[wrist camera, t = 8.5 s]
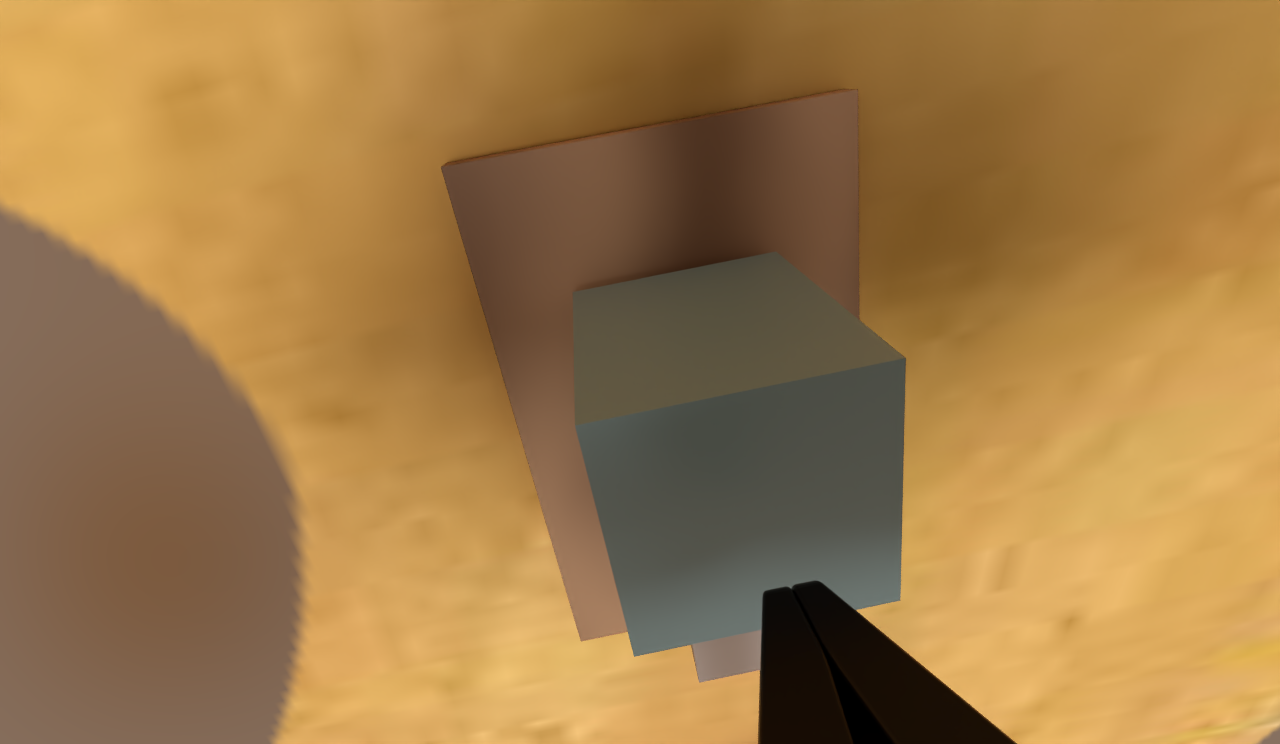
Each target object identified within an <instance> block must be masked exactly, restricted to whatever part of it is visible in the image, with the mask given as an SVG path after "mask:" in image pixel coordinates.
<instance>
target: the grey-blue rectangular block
mask: <svg viewBox="0 0 1280 744" xmlns="http://www.w3.org/2000/svg"><path fill="white" fill-rule="evenodd" d="M573 341H574V401H575V428H576V432H577V436H578V440H579V443H580V447H581V451H582V455H583V459H584V463H585V467H586V471H587V475H588V479H589V482H590V486H591V490H592V494H593V498H594V502H595V506H596V510H597V514H598V517H599V521H600V525H601V529H602V533H603V537H604V541H605V545H606V549H607V552H608V556H609V560H610V564H611V568H612V572H613V576H614V580H615V584H616V587H617V591H618V595H619V599H620V603H621V607H622V611H623V615H624V619H625V623H626V626H627V630H628V634H629V638H630V642H631V646H632V650H633V654H634V657H635V656H640V655H644V654H649V653H654V652H659V651H663V650H668V649H673V648H677V647H682V646H687V645H692V644H696V643H701V642H706V641H711V640H715V639H720V638H725V637H729V636H734V635H739V634H744V633H748V632H753V631H758V630H761V626H762V596H763V593H764V591H766V590H770V589H775V588H780V587H785V586H787V587H790V588H792V586H793V585H795V584H799V583H804V582H809V581H815V580H817V581H820V582H822V583H823V584H824V585H826V586H827V587H828V588H829V589H831V590H832V591H833V592H834V593H835V594H837V595H838V596H839V597H840V598H841V599H843V600H844V601H845V602H846V603H847V604H849V605H850V606H851V607H852V608H853V609H855V610H857V609H862V608H866V607H871V606H876V605H881V604H885V603H890V602H895V601H900V591H901V546H902V501H903V456H904V410H905V365H906V358H905V357H904V356H902V355H901V354H900V353H899V352H898V351H896V350H895V349H894V348H893V347H892V346H890V345H889V344H888V343H887V342H885V341H884V340H883V339H882V338H881V337H879V336H878V335H877V334H876V333H875V332H873V331H872V330H871V329H870V328H868V327H867V326H866V325H865V324H864V323H862V322H861V321H860V320H859V319H857V318H856V317H855V316H854V315H853V314H851V313H850V312H849V311H848V310H847V309H845V308H844V307H843V306H842V305H840V304H839V303H838V302H837V301H836V300H834V299H833V298H832V297H831V296H830V295H828V294H827V293H826V292H825V291H823V290H822V289H821V288H820V287H819V286H817V285H816V284H815V283H814V282H813V281H811V280H810V279H809V278H808V277H806V276H805V275H804V274H803V273H802V272H800V271H799V270H798V269H797V268H795V267H794V266H793V265H792V264H791V263H789V262H788V261H787V260H786V259H785V258H783V257H782V256H781V255H780V254H778V253H777V252H771V253H766V254H761V255H756V256H751V257H746V258H741V259H736V260H731V261H726V262H721V263H716V264H711V265H706V266H701V267H696V268H691V269H686V270H681V271H676V272H671V273H666V274H661V275H656V276H651V277H646V278H641V279H636V280H631V281H626V282H621V283H616V284H611V285H605V286H600V287H595V288H590V289H585V290H580V291H575V292H573Z"/></svg>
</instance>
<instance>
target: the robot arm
mask: <svg viewBox="0 0 1280 744" xmlns="http://www.w3.org/2000/svg"><path fill="white" fill-rule="evenodd" d="M758 744H1017V743H1015V742H1014V741H1013V740H1012V739H1011V738H1009V737H1008V736H1007V735H1006V734H1005V733H1003V732H1002V731H1001V730H1000V729H999V728H997V727H996V726H995V725H994V724H993V723H991V722H990V721H989V720H988V719H986V718H985V717H984V716H983V715H982V714H980V713H979V712H978V711H977V710H976V709H974V708H973V707H972V706H971V705H970V704H968V703H967V702H966V701H965V700H963V699H962V698H961V697H960V696H959V695H957V694H956V693H955V692H954V691H953V690H951V689H950V688H949V687H948V686H947V685H945V684H944V683H943V682H942V681H941V680H939V679H938V678H937V677H936V676H934V675H933V674H932V673H931V672H930V671H928V670H927V669H926V668H925V667H924V666H922V665H921V664H920V663H919V662H918V661H916V660H915V659H914V658H913V657H912V656H910V655H909V654H908V653H907V652H905V651H904V650H903V649H902V648H901V647H899V646H898V645H897V644H896V643H895V642H893V641H892V640H891V639H890V638H889V637H887V636H886V635H885V634H884V633H882V632H881V631H880V630H879V629H878V628H876V627H875V626H874V625H873V624H872V623H870V622H869V621H868V620H867V619H866V618H864V617H863V616H862V615H861V614H860V613H858V612H857V611H856V610H855V609H853V608H852V607H851V606H850V605H849V604H847V603H846V602H845V601H844V600H843V599H841V598H840V597H839V596H838V595H837V594H835V593H834V592H833V591H832V590H831V589H829V588H828V587H827V586H826V585H824V584H823V583H822V582H820V581H817V580H815V581H809V582H804V583H799V584H795V585H793V586H792V588H790V587H787V586H785V587H780V588H775V589H770V590H766V591H764V593H763V596H762V626H761V659H760V692H759V725H758Z"/></svg>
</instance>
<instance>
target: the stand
mask: <svg viewBox="0 0 1280 744" xmlns="http://www.w3.org/2000/svg"><path fill="white" fill-rule="evenodd" d="M441 169H442V173H443V176H444V180H445V183H446V186H447V190H448V193H449V196H450V200H451V203H452V207H453V210H454V213H455V217H456V220H457V223H458V227H459V230H460V234H461V237H462V240H463V244H464V247H465V251H466V254H467V257H468V261H469V264H470V267H471V271H472V274H473V278H474V281H475V284H476V288H477V291H478V295H479V298H480V301H481V305H482V308H483V311H484V315H485V318H486V322H487V325H488V328H489V332H490V335H491V339H492V342H493V345H494V349H495V352H496V355H497V359H498V362H499V366H500V369H501V372H502V376H503V379H504V382H505V386H506V389H507V393H508V396H509V399H510V403H511V406H512V410H513V413H514V416H515V420H516V423H517V426H518V430H519V433H520V437H521V440H522V443H523V447H524V450H525V454H526V457H527V460H528V464H529V467H530V470H531V474H532V477H533V481H534V484H535V487H536V491H537V494H538V498H539V501H540V504H541V508H542V511H543V514H544V518H545V521H546V525H547V528H548V531H549V535H550V538H551V541H552V545H553V548H554V552H555V555H556V558H557V562H558V565H559V569H560V572H561V575H562V579H563V582H564V585H565V589H566V592H567V596H568V599H569V602H570V606H571V609H572V613H573V616H574V619H575V623H576V626H577V629H578V633H579V636H580V640H581V641H585V640H590V639H595V638H600V637H604V636H609V635H614V634H619V633H624V632H628V630H627V626H626V623H625V619H624V615H623V611H622V607H621V603H620V599H619V595H618V591H617V587H616V584H615V580H614V576H613V572H612V568H611V564H610V560H609V556H608V552H607V549H606V545H605V541H604V537H603V533H602V529H601V525H600V521H599V517H598V514H597V510H596V506H595V502H594V498H593V494H592V490H591V486H590V482H589V479H588V475H587V471H586V467H585V463H584V459H583V455H582V451H581V447H580V443H579V440H578V436H577V432H576V428H575V401H574V341H573V292H575V291H580V290H585V289H590V288H595V287H600V286H605V285H611V284H616V283H621V282H626V281H631V280H636V279H641V278H646V277H651V276H656V275H661V274H666V273H671V272H676V271H681V270H686V269H691V268H696V267H701V266H706V265H711V264H716V263H721V262H726V261H731V260H736V259H741V258H746V257H751V256H756V255H761V254H766V253H771V252H777V253H778V254H780V255H781V256H782V257H783V258H785V259H786V260H787V261H788V262H789V263H791V264H792V265H793V266H794V267H795V268H797V269H798V270H799V271H800V272H802V273H803V274H804V275H805V276H806V277H808V278H809V279H810V280H811V281H813V282H814V283H815V284H816V285H817V286H819V287H820V288H821V289H822V290H823V291H825V292H826V293H827V294H828V295H830V296H831V297H832V298H833V299H834V300H836V301H837V302H838V303H839V304H840V305H842V306H843V307H844V308H845V309H847V310H848V311H849V312H850V313H851V314H853V315H854V316H855V317H856V318H857V319H859V181H858V90H856V89H843V90H837V91H832V92H826V93H821V94H816V95H810V96H805V97H800V98H794V99H789V100H783V101H778V102H773V103H767V104H762V105H756V106H751V107H746V108H740V109H735V110H730V111H724V112H719V113H713V114H708V115H703V116H697V117H692V118H686V119H681V120H676V121H670V122H665V123H660V124H654V125H649V126H643V127H638V128H633V129H627V130H622V131H616V132H611V133H606V134H600V135H595V136H590V137H584V138H579V139H573V140H568V141H563V142H557V143H552V144H546V145H541V146H536V147H530V148H525V149H519V150H514V151H509V152H503V153H498V154H493V155H487V156H482V157H476V158H471V159H466V160H460V161H455V162H449V163H446V164H445V165H443V166H442V167H441ZM691 647H692V651H693V656H694V661H695V665H696V670H697V675H698V679H699V682H704V681H709V680H714V679H718V678H723V677H728V676H733V675H738V674H743V673H747V672H752V671H757V670H760V659H761V630H758V631H753V632H748V633H744V634H739V635H734V636H729V637H725V638H720V639H715V640H711V641H706V642H701V643H696V644H692V645H691Z"/></svg>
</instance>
